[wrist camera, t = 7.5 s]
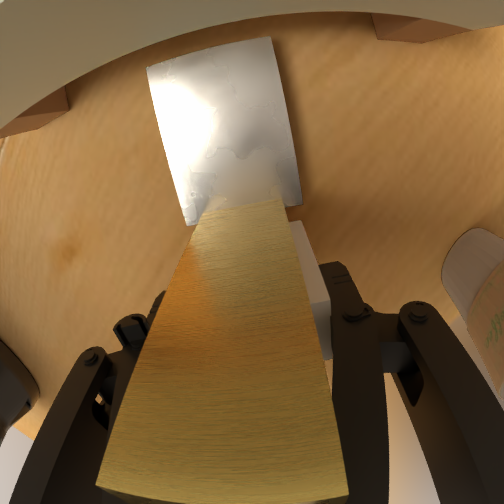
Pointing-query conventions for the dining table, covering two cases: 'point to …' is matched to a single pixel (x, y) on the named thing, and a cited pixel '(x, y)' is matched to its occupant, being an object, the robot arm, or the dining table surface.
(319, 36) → the dining table surface
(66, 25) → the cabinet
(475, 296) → the coffee cup
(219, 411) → the blade tool
